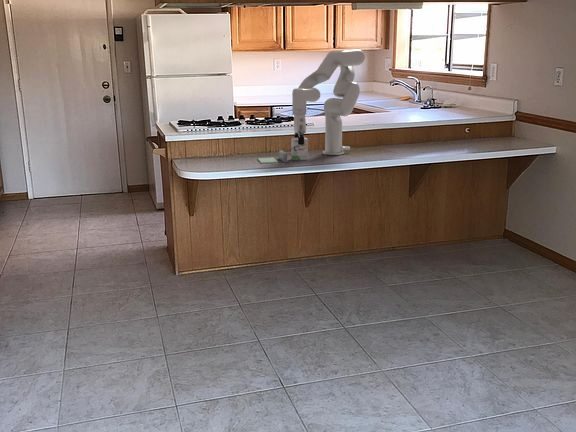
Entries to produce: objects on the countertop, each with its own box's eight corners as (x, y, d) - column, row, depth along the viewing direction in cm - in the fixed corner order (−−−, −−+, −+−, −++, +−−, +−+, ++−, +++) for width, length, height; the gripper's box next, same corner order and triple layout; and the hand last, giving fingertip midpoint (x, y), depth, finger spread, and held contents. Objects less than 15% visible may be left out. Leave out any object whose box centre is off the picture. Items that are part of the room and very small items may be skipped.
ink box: (293, 160, 331) (292, 139, 327) (291, 158, 335) (291, 137, 332) (308, 159, 332) (308, 138, 329) (306, 158, 337) (306, 137, 334)
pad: (273, 158, 337) (273, 157, 337) (278, 162, 324) (278, 161, 324) (257, 159, 335) (257, 158, 335) (261, 163, 323) (261, 162, 323)
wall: (282, 158, 338) (282, 150, 336) (287, 162, 325) (287, 154, 324) (279, 158, 337) (278, 150, 336) (283, 162, 325) (283, 154, 324)
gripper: (309, 113, 319) (309, 145, 324) (302, 110, 335) (302, 140, 340) (295, 113, 318) (295, 145, 322) (289, 110, 334) (289, 141, 338)
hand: (299, 143), depth 331 cm, fingers open, 9 cm apart
